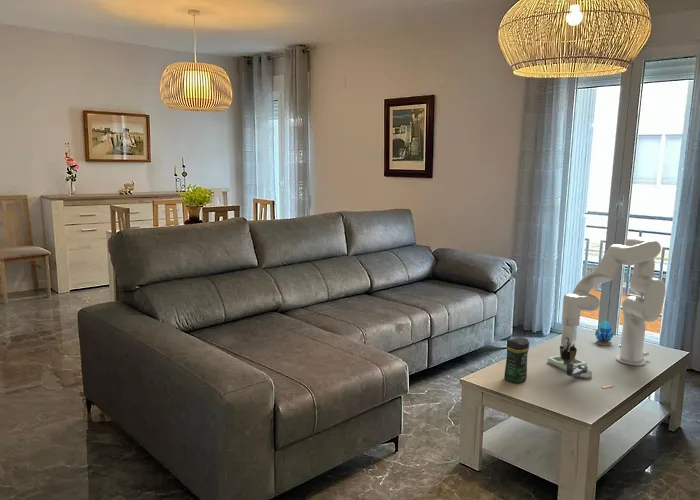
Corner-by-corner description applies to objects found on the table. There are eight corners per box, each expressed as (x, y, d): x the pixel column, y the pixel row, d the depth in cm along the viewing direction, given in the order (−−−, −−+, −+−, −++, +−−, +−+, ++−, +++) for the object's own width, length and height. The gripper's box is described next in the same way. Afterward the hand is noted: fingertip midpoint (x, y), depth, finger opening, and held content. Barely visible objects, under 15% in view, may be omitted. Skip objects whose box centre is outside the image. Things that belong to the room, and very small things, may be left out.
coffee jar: (517, 385, 228) (520, 343, 225) (501, 379, 234) (503, 338, 231) (530, 379, 234) (532, 338, 232) (514, 374, 240) (516, 334, 238)
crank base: (568, 373, 242) (568, 369, 242) (581, 371, 245) (582, 366, 245) (582, 380, 235) (582, 375, 235) (595, 377, 238) (596, 373, 238)
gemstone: (594, 340, 289) (596, 318, 287) (612, 342, 286) (614, 320, 284) (594, 344, 282) (596, 322, 280) (612, 346, 279) (615, 324, 277)
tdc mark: (610, 385, 229) (610, 385, 229) (612, 386, 228) (612, 386, 228) (601, 387, 227) (601, 386, 227) (604, 388, 226) (604, 387, 226)
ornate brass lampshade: (577, 367, 248) (578, 350, 247) (560, 366, 249) (561, 349, 248) (573, 361, 255) (575, 345, 254) (557, 360, 257) (558, 344, 255)
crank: (580, 368, 242) (581, 355, 242) (589, 370, 239) (590, 358, 238) (563, 375, 234) (564, 362, 233) (571, 378, 231) (572, 365, 230)
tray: (566, 359, 260) (567, 354, 260) (586, 368, 249) (587, 362, 249) (547, 362, 255) (547, 357, 255) (566, 371, 244) (567, 366, 244)
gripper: (566, 315, 258) (564, 349, 261) (557, 324, 244) (555, 360, 247) (583, 317, 254) (580, 352, 257) (575, 326, 240) (572, 363, 242)
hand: (568, 356), depth 252 cm, fingers open, 9 cm apart
